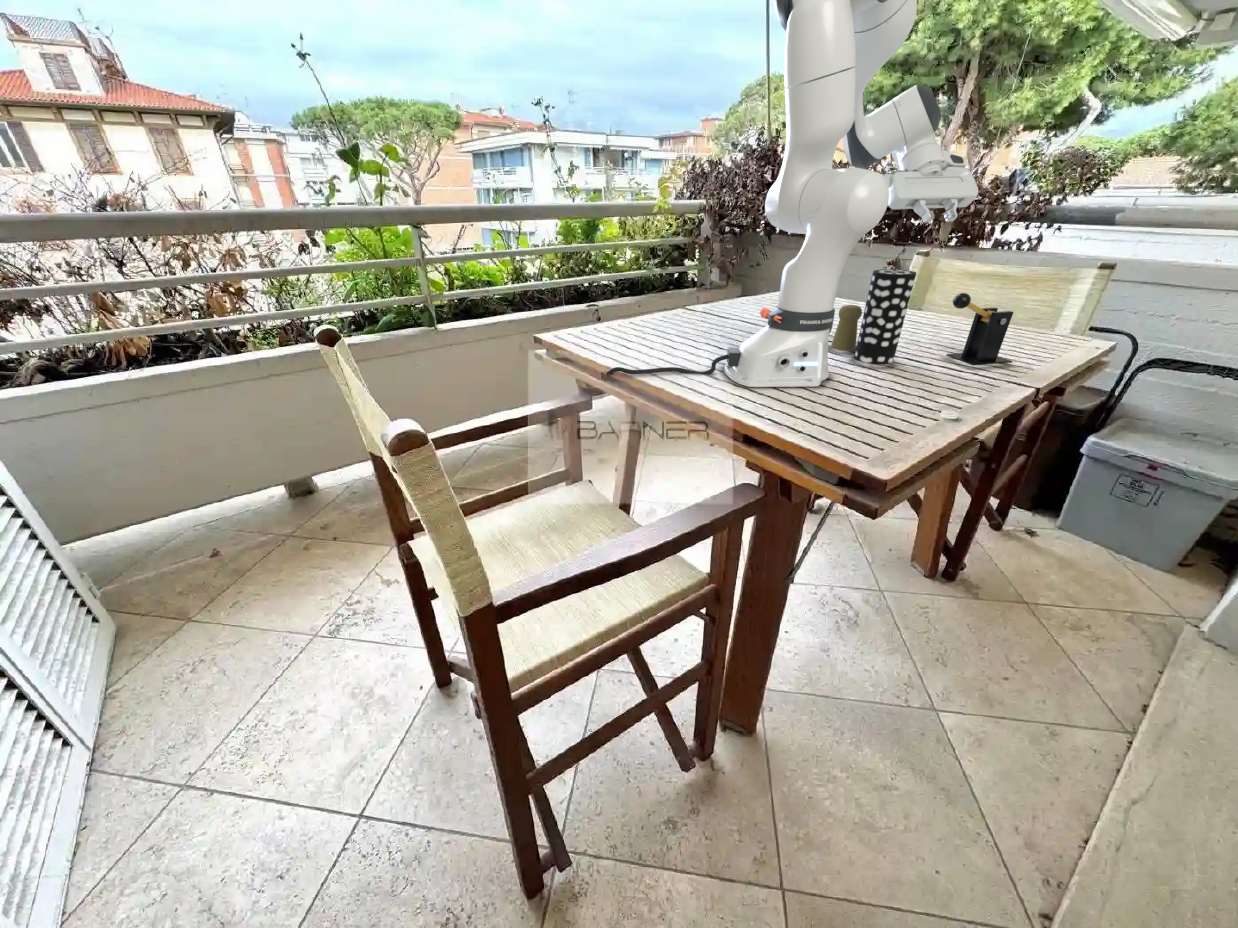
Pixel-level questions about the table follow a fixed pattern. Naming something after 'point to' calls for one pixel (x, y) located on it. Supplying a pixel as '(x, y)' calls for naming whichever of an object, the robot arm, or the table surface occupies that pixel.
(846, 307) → the cork
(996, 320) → the bracket
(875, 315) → the white-spotted black cylinder
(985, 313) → the latch lever
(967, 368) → the table surface
